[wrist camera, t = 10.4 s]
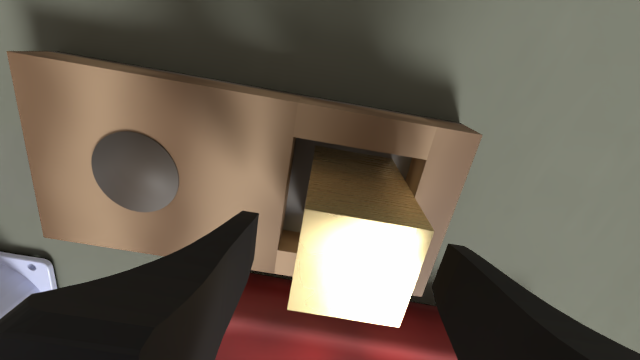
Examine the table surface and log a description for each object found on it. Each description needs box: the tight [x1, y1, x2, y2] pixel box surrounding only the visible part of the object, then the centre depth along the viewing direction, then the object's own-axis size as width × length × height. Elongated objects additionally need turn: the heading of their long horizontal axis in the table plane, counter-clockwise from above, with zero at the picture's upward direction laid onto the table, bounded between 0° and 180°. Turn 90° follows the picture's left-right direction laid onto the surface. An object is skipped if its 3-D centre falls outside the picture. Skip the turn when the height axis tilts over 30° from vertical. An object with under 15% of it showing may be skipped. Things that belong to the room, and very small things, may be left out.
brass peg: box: [287, 145, 434, 327], centre depth 13 cm, size 4×4×7 cm
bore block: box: [7, 51, 482, 297], centre depth 16 cm, size 20×9×3 cm, turn 80°
